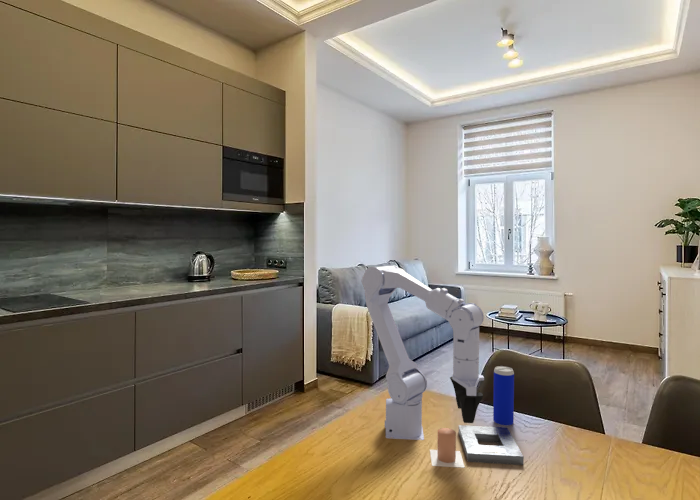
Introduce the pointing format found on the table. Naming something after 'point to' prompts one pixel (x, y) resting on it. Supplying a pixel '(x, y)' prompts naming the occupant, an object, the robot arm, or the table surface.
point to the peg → (446, 445)
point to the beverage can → (503, 396)
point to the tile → (437, 462)
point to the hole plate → (489, 453)
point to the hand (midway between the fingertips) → (465, 415)
